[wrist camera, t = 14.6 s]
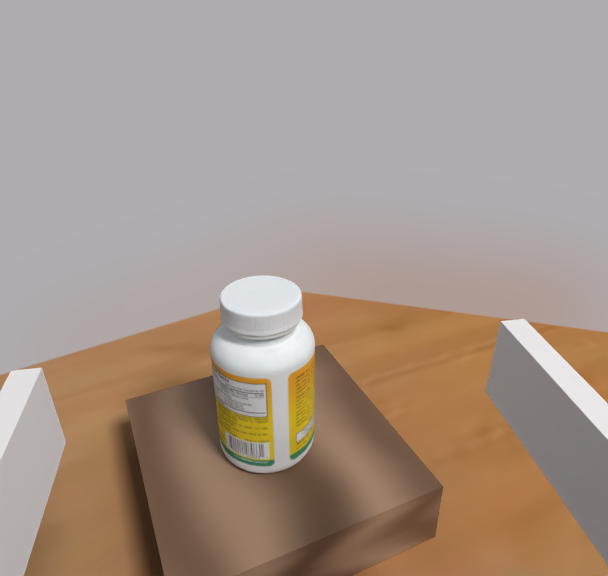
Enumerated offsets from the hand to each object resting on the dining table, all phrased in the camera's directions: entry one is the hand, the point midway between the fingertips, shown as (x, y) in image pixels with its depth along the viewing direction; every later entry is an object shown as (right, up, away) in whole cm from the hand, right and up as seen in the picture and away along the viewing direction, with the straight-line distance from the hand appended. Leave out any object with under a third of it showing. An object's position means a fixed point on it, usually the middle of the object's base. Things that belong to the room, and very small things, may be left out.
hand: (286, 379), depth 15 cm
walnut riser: (-1, -10, +17) cm, 19 cm away
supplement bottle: (-2, -6, +15) cm, 16 cm away
